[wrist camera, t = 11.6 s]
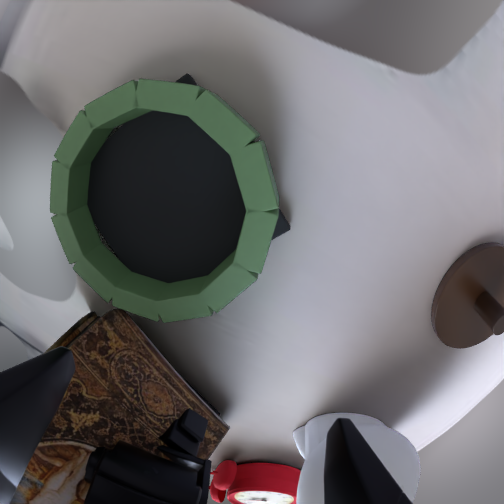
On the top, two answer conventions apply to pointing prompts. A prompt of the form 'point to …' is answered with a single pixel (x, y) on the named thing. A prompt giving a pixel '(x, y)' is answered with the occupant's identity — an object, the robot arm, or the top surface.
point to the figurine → (379, 439)
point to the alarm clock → (255, 483)
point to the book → (109, 407)
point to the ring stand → (471, 298)
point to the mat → (167, 197)
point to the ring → (84, 231)
